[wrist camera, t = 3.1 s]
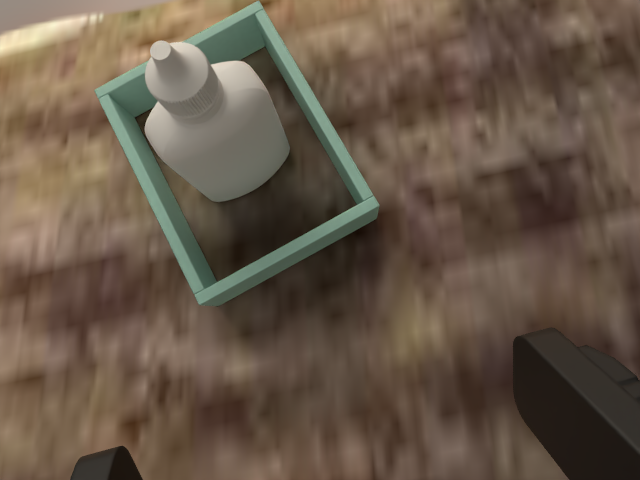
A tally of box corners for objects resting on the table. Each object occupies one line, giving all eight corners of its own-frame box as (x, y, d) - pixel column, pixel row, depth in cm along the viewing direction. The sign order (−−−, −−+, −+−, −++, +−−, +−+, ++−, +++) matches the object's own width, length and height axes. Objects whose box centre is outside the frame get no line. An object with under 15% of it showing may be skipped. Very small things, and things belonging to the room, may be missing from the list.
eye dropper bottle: (195, 135, 28) (78, 2, 16) (288, 123, 28) (239, -20, 16) (199, 206, 27) (79, 122, 15) (295, 195, 27) (248, 101, 15)
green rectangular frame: (377, 218, 26) (380, 205, 23) (217, 306, 26) (199, 305, 23) (269, 34, 29) (258, -1, 25) (122, 114, 28) (93, 89, 25)
